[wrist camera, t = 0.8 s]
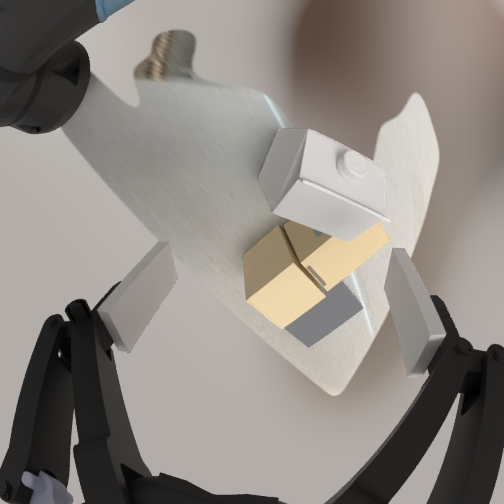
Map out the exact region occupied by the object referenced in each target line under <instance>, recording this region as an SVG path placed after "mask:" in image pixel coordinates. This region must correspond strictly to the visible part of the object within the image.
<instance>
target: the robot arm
mask: <svg viewBox="0 0 504 504" xmlns="http://www.w3.org/2000/svg"><path fill="white" fill-rule="evenodd" d="M133 1H134V0H0V127H4V126H11V127H13V128H16V129H18V130H21V131H23V132H26V133H29V134H41V133H47V132H50V131H53V130H55V129H57V128H59V127H60V126H62V125H63V124H64V123H65V122H66V121H67V120H68V119H69V118H70V117H71V116H72V115H73V113H74V112H75V111H76V109H77V108H78V106H79V104H80V102H81V101H82V99H83V96H84V94H85V91H86V89H87V85H88V81H89V76H90V61H89V56H88V53H87V51H86V50H85V48H84V47H83V45H81V44H80V43H79V42H77V41H75V39H76V38H78V37H79V36H80V35H82V34H83V33H85V32H86V31H88V30H89V29H91V28H92V27H94V26H95V25H97V24H98V23H100V22H101V23H103V22H104V21H105V20H106V19H107V17H109V16H110V15H112V14H113V13H115V12H116V11H118V10H120V9H121V8H123V7H125V6H126V5H128V4H130V3H131V2H133ZM177 280H178V278H177V274H176V269H175V265H174V262H173V257H172V253H171V249H170V245H169V242H158V243H157V244H156V245H155V246H154V247H153V248H152V249H151V250H150V251H149V252H148V253H147V254H146V255H145V256H144V258H143V259H142V260H141V261H140V262H139V263H138V264H137V265H136V266H135V267H134V268H133V269H132V270H131V272H130V273H129V274H128V275H127V276H126V277H125V278H124V279H123V280H122V281H120V282H118V283H117V284H115V285H114V286H113V287H112V288H111V289H110V290H109V291H108V293H106V294H105V296H104V298H102V299H101V300H100V301H99V303H98V304H97V305H96V306H95V307H94V308H93V310H92V311H91V310H90V308H89V306H88V304H87V302H86V300H84V299H77V300H74V301H72V302H71V303H70V304H68V305H67V307H66V308H65V313H66V314H67V316H68V318H69V320H70V321H64V319H63V318H62V316H61V315H60V314H55V315H52V316H50V317H49V318H48V319H47V320H46V321H45V323H44V325H43V327H42V329H41V332H40V335H39V337H38V340H37V342H36V345H35V348H34V351H33V353H32V356H31V359H30V362H29V365H28V368H27V371H26V374H25V378H24V381H23V384H22V388H21V392H20V395H19V399H18V403H17V407H16V412H15V417H14V421H13V426H12V433H11V438H10V444H9V449H8V451H7V453H6V456H5V458H4V461H3V463H2V466H1V468H0V498H1V499H2V500H4V501H5V502H7V503H9V504H72V503H73V497H72V495H71V494H70V493H68V491H67V485H68V479H69V470H70V469H69V467H70V446H71V431H72V421H73V412H74V409H75V417H76V425H77V432H78V438H79V443H78V444H77V445H74V447H73V454H74V459H75V464H76V469H77V473H78V477H79V481H80V485H81V489H82V492H83V496H84V499H85V503H82V504H287V503H284V502H281V501H278V499H279V498H276V497H266V496H258V495H250V494H238V495H215V494H211V493H209V492H207V491H205V490H203V489H201V488H199V487H197V486H196V485H194V484H192V483H190V482H188V481H186V480H183V479H179V478H176V477H173V476H170V475H167V474H164V473H160V474H159V476H152V474H151V472H150V471H149V469H148V468H147V466H146V465H145V464H144V462H143V460H142V458H141V456H140V453H139V450H138V447H137V444H136V441H135V438H134V435H133V432H132V429H131V425H130V422H129V419H128V415H127V411H126V408H125V404H124V400H123V396H122V392H121V388H120V384H119V379H118V375H117V371H116V365H115V360H114V355H113V351H112V349H111V345H112V344H113V343H115V345H116V347H117V348H118V350H120V351H123V352H127V353H130V352H131V350H132V348H133V347H134V345H135V343H136V342H137V341H138V339H139V337H140V336H141V334H142V333H143V331H144V330H145V328H146V326H147V325H148V323H149V322H150V320H151V319H152V317H153V316H154V314H155V313H156V311H157V310H158V308H159V307H160V305H161V304H162V302H163V300H164V299H165V297H166V296H167V295H168V293H169V292H170V290H171V289H172V287H173V286H174V284H175V282H176V281H177ZM384 290H385V293H386V296H387V299H388V302H389V306H390V309H391V312H392V316H393V319H394V323H395V326H396V330H397V334H398V338H399V342H400V346H401V350H402V354H403V358H404V362H405V367H406V371H407V376H408V378H411V377H421V376H423V375H424V373H425V371H426V370H427V368H428V372H429V377H428V378H427V380H426V381H425V383H424V384H423V386H422V388H421V390H420V392H419V393H418V395H417V397H416V398H415V400H414V401H413V403H412V404H411V406H410V407H409V409H408V410H407V412H406V413H405V415H404V416H403V417H402V419H401V420H400V422H399V423H398V424H397V426H396V427H395V428H394V430H393V431H392V433H391V434H390V435H389V436H388V438H387V439H386V440H385V441H384V443H383V444H382V445H381V446H380V447H379V449H378V450H377V451H376V452H375V453H374V455H373V456H372V457H371V458H370V459H369V461H368V462H367V463H366V464H365V465H364V466H363V467H362V468H361V469H360V470H359V471H358V472H357V474H355V475H354V476H353V478H352V479H351V480H350V481H349V482H348V483H347V484H346V485H345V486H343V487H342V489H340V490H339V491H338V492H337V493H336V494H335V495H334V496H333V497H331V498H330V499H329V500H328V501H327V502H326V503H324V504H388V503H389V501H390V500H391V499H392V498H393V496H394V495H395V494H396V493H397V492H398V490H399V489H400V488H401V487H402V485H403V484H404V483H405V481H406V480H407V479H408V477H409V476H410V475H411V473H412V472H413V471H414V469H415V468H416V466H417V465H418V463H419V462H420V460H421V459H422V457H423V456H424V454H425V453H426V451H427V450H428V448H429V447H430V445H431V443H432V442H433V440H434V438H435V437H436V435H437V433H438V431H439V430H440V428H441V426H442V424H443V422H444V420H445V419H446V417H447V415H448V412H449V411H450V409H451V407H452V405H453V403H454V400H455V398H456V396H457V394H458V393H461V394H460V400H459V405H458V410H457V414H456V419H455V423H454V427H453V431H452V435H451V439H450V442H449V446H448V449H447V452H446V455H445V458H444V461H443V464H442V467H441V470H440V473H439V475H438V478H437V480H436V483H435V485H434V488H433V490H432V493H431V495H430V497H429V499H428V502H427V504H489V503H490V500H491V497H492V493H493V490H494V487H495V483H496V480H497V476H498V472H499V468H500V463H501V458H502V454H503V448H504V348H503V347H502V346H501V345H499V344H492V345H491V346H490V347H489V348H488V349H487V351H480V350H475V349H473V346H472V345H471V343H470V342H469V341H468V340H466V339H464V338H462V337H460V336H459V333H458V331H457V329H456V327H455V324H454V322H453V320H452V318H451V317H450V314H449V312H448V311H447V308H446V306H445V304H444V302H443V301H442V300H441V299H440V298H439V297H438V296H437V295H431V296H429V294H428V292H427V290H426V288H425V286H424V284H423V282H422V280H421V278H420V276H419V274H418V272H417V270H416V268H415V266H414V264H413V263H412V261H411V259H410V257H409V255H408V254H407V252H406V250H405V248H392V253H391V258H390V263H389V268H388V272H387V277H386V281H385V286H384ZM58 352H60V353H61V355H60V357H59V355H58Z"/></svg>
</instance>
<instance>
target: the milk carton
mask: <svg viewBox="0 0 504 504" xmlns="http://www.w3.org/2000/svg"><path fill="white" fill-rule="evenodd" d="M258 180H259V183H260V185H261V187H262V189H263V192H264V194H265V196H266V199H267V201H268V203H269V205H270V208H271V210H272V213H273V214H276V215H278V216H281V217H283V218H286V219H289V220H291V221H294V222H297V223H299V224H302V225H305V226H307V227H310V228H313V229H315V230H318V231H320V232H323V233H325V234H328V235H331V236H333V237H336V238H338V239H341V240H343V241H346V242H350V241H352V240H353V239H354V238H356V237H357V236H359V235H360V234H362V233H363V232H365V231H366V230H367V229H369V228H370V227H372V226H373V225H375V224H376V223H377V222H379V221H380V220H384V221H386V222H388V223H390V222H391V220H389V219H388V218H386V217H385V216H384V215H385V176H384V168H383V167H382V166H380V165H379V164H377V163H375V162H374V161H372V160H370V159H369V158H367V157H365V156H363V155H361V154H360V153H358V152H356V151H354V150H352V149H350V148H348V147H347V146H345V145H342V144H341V143H339V142H337V141H335V140H333V139H331V138H329V137H327V136H324V135H323V134H320V133H318V132H316V131H314V130H311V129H306V128H289V129H278V130H277V132H276V135H275V137H274V140H273V142H272V145H271V147H270V149H269V152H268V154H267V157H266V159H265V162H264V164H263V167H262V169H261V172H260V174H259V177H258Z"/></svg>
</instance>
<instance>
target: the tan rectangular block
mask: <svg viewBox="0 0 504 504" xmlns="http://www.w3.org/2000/svg"><path fill="white" fill-rule="evenodd" d="M243 262H244V278H245V294H246V301H247V302H248V303H249V304H251V305H252V306H253V307H254V308H255V309H257V310H258V311H259V312H260V313H261V314H263V315H264V316H265V317H266V318H268V319H269V320H270V321H271V322H273V323H274V324H275V325H276V326H278V327H279V328H280V329H281V330H282V329H283V328H284V327H286V326H287V325H289V324H290V323H291V322H293V321H294V320H296V319H297V318H298V317H300V316H301V315H302V314H304V313H305V312H307V311H308V310H309V309H311V308H312V307H313V306H315V305H316V304H317V303H319V302H320V301H321V300H322V299H324V298H325V297H326V295H325V293H324V291H323V289H322V287H321V285H320V283H319V282H318V281H317V280H316V279H315V278H314V277H313V276H312V275H311V273H310V272H309V271H308V270H307V269H306V268H305V267H304V266H303V265H302V264H301V263H300V261H299V259H298V256H297V254H296V252H295V250H294V248H293V246H292V243H291V241H290V239H289V237H288V235H287V234H286V233H285V232H284V231H283V230H282V229H281V228H280V227H279V226H278V225H277V226H276V227H275V228H274V229H273V230H271V231H270V232H269V233H268V234H267V235H266V236H265V237H263V238H262V239H261V240H260V241H259V242H258V243H256V244H255V245H254V246H253V247H252V248H251V249H250V250H248V251H247V252H246V253H245V254H244V255H243Z"/></svg>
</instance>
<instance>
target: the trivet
mask: <svg viewBox="0 0 504 504" xmlns="http://www.w3.org/2000/svg"><path fill="white" fill-rule="evenodd" d="M320 285H321V284H320ZM321 287H322V289H323V291H324V293H325V295H326V297H325V298H324V299H322V300H321V301H320V302H319V303H317V304H316V305H315V306H313V307H312V308H311V309H309V310H308V311H307V312H305V313H304V314H302V315H301V316H300V317H298V318H297V319H296V320H294V321H293V322H291V323H290V324H289V325H287V326H286V327H284V328H285V329H286V330H287V331H289V332H290V333H291V334H292V335H294V336H295V337H296V338H297V339H299V340H300V341H301V342H302V343H304V344H305V345H306V346H307V347H310V346H312V345H313V344H315V343H316V342H318V341H319V340H321V339H322V338H324V337H325V336H326V335H328V334H329V333H331V332H332V331H333V330H335V329H336V328H338V327H339V326H340V325H342V324H343V323H344V322H346V321H347V320H348V319H350V318H351V317H352V316H354V315H355V314H356V313H358V312H359V311H360V310H362V309H363V306H362V305H361V303H360V302H359V301H358V300H357V298H356V297H355V296H354V295H353V294H352V292H351V291H350V290H349V289H348V288H347V286H346V285H345V284H344V283H343V282H342V281H340V282H339V283H338V284H336V285H335V286H334V287H333V288H331V289H330V290H329V291H328V292H327V291H326V289H325V288H324V287H323V286H322V285H321Z"/></svg>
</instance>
